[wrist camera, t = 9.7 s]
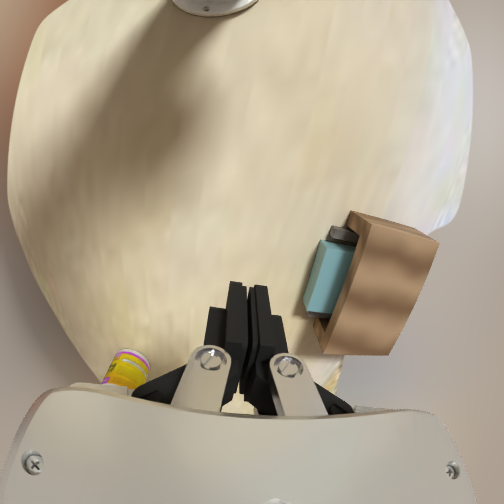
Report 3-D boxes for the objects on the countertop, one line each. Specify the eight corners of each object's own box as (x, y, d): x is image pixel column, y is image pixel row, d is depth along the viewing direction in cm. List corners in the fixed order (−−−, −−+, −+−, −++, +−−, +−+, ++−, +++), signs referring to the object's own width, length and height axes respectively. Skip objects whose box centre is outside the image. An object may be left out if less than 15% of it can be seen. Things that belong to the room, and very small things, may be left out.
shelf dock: (337, 207, 33) (356, 220, 27) (413, 228, 34) (439, 243, 28) (300, 324, 39) (309, 352, 33) (372, 330, 41) (388, 355, 35)
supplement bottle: (121, 340, 40) (93, 395, 28) (155, 359, 42) (136, 417, 30) (113, 362, 42) (88, 413, 30) (144, 378, 44) (126, 432, 32)
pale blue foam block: (320, 239, 35) (326, 247, 32) (393, 255, 36) (403, 263, 33) (302, 299, 38) (306, 310, 35) (372, 307, 39) (380, 318, 36)
